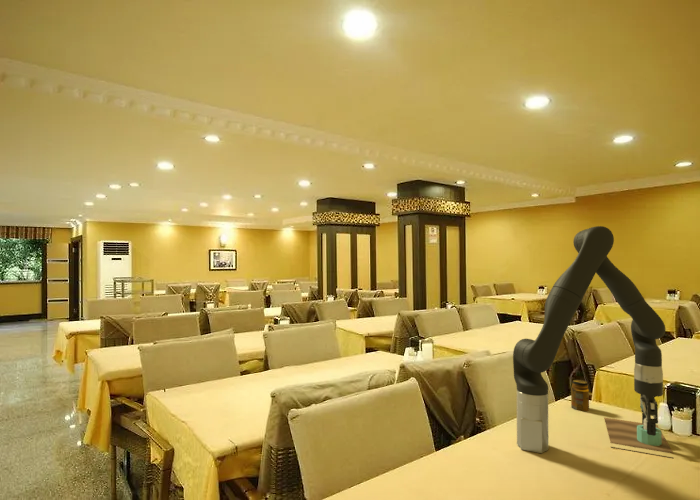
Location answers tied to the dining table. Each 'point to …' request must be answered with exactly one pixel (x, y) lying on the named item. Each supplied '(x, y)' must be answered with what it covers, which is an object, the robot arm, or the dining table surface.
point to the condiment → (580, 395)
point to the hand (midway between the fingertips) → (648, 429)
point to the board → (632, 436)
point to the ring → (649, 436)
